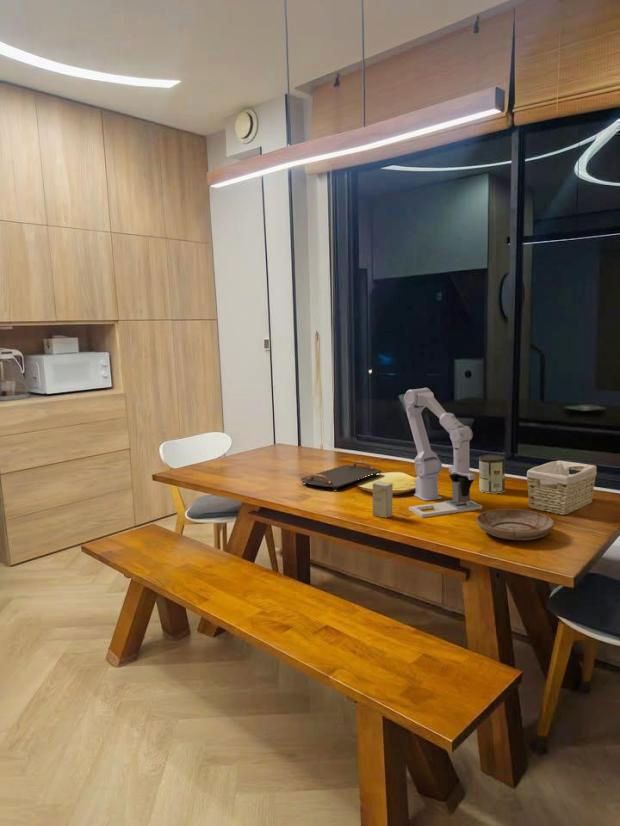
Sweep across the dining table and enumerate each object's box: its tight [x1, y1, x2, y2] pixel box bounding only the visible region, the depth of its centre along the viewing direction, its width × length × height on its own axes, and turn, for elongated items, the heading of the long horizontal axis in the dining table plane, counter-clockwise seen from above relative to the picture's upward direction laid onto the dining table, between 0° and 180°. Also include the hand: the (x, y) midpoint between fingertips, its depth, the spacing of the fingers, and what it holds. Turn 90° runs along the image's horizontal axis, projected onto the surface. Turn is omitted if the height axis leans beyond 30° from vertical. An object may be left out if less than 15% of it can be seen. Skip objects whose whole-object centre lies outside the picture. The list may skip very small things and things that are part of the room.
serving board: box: [300, 460, 382, 491], centre depth 258 cm, size 39×23×6 cm, turn 137°
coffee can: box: [478, 454, 506, 495], centre depth 230 cm, size 10×10×14 cm
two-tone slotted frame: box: [408, 499, 483, 519], centre depth 209 cm, size 10×25×2 cm, turn 107°
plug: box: [451, 481, 471, 503], centre depth 211 cm, size 4×5×7 cm
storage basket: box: [526, 460, 598, 516], centre depth 207 cm, size 24×16×15 cm
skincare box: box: [372, 480, 394, 519], centre depth 205 cm, size 6×4×12 cm
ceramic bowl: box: [475, 508, 555, 541], centre depth 182 cm, size 23×24×5 cm
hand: (461, 494), depth 211 cm, fingers closed on plug, 4 cm apart
